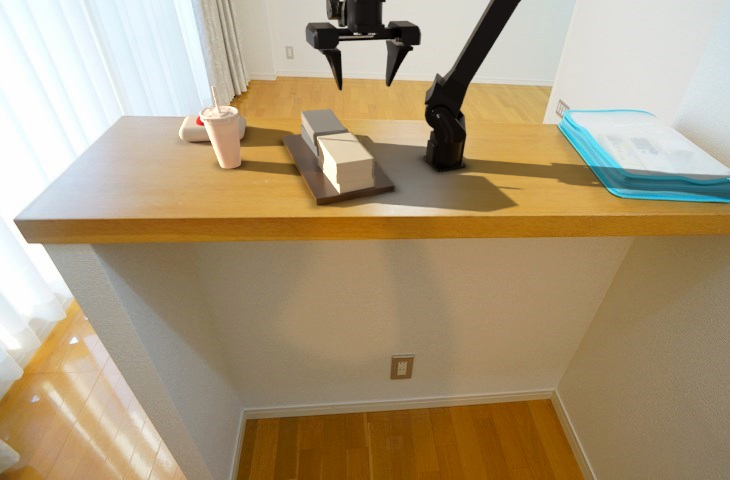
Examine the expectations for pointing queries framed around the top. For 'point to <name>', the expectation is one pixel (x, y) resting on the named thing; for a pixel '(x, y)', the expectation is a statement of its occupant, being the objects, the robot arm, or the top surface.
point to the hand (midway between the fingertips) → (364, 87)
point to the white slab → (202, 129)
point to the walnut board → (319, 181)
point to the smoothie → (223, 132)
